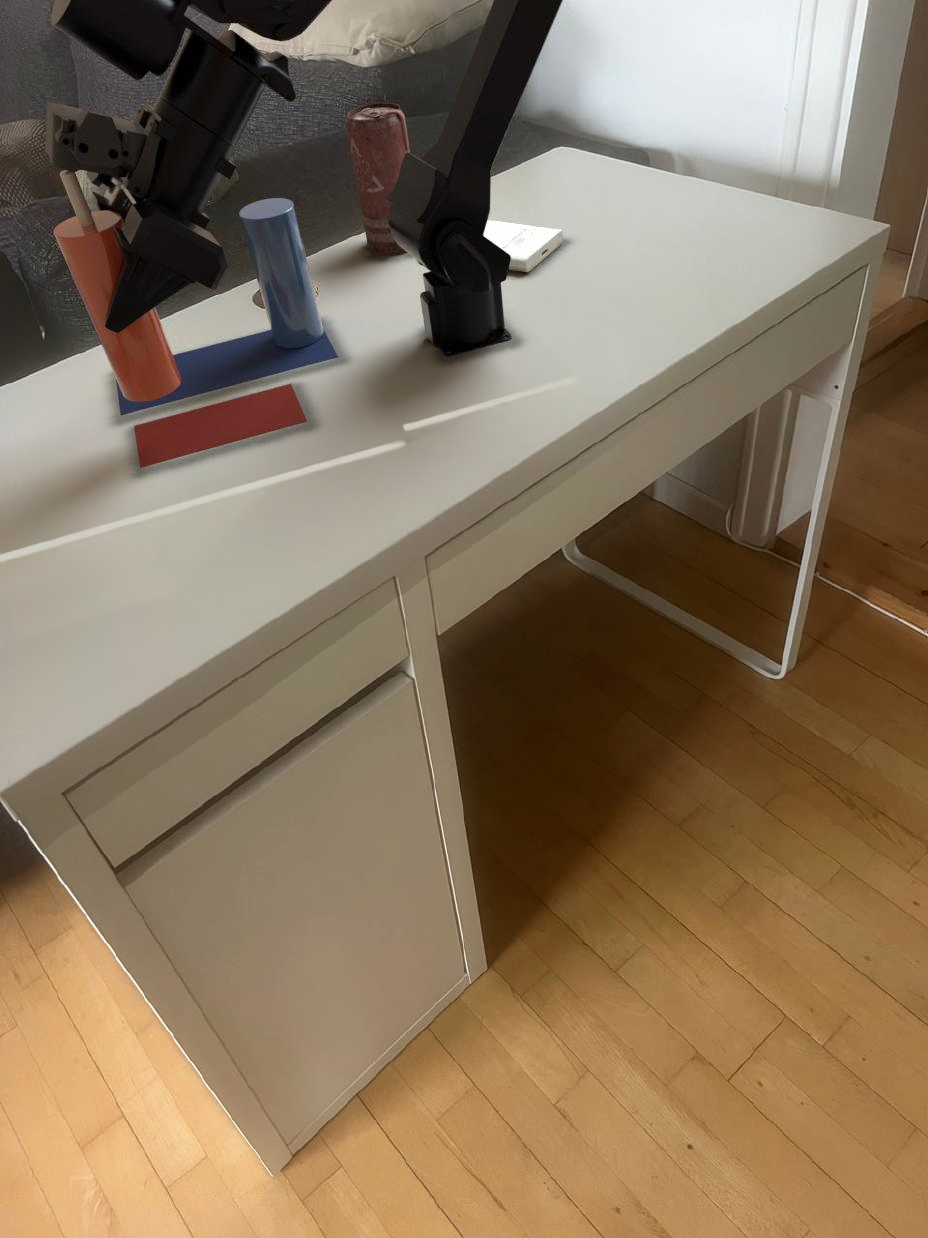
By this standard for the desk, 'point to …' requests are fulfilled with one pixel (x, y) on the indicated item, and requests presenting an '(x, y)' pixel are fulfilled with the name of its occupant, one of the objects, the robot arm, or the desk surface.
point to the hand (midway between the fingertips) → (104, 316)
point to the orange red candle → (95, 268)
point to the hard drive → (523, 242)
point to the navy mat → (234, 366)
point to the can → (377, 167)
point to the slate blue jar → (282, 271)
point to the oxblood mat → (217, 424)
